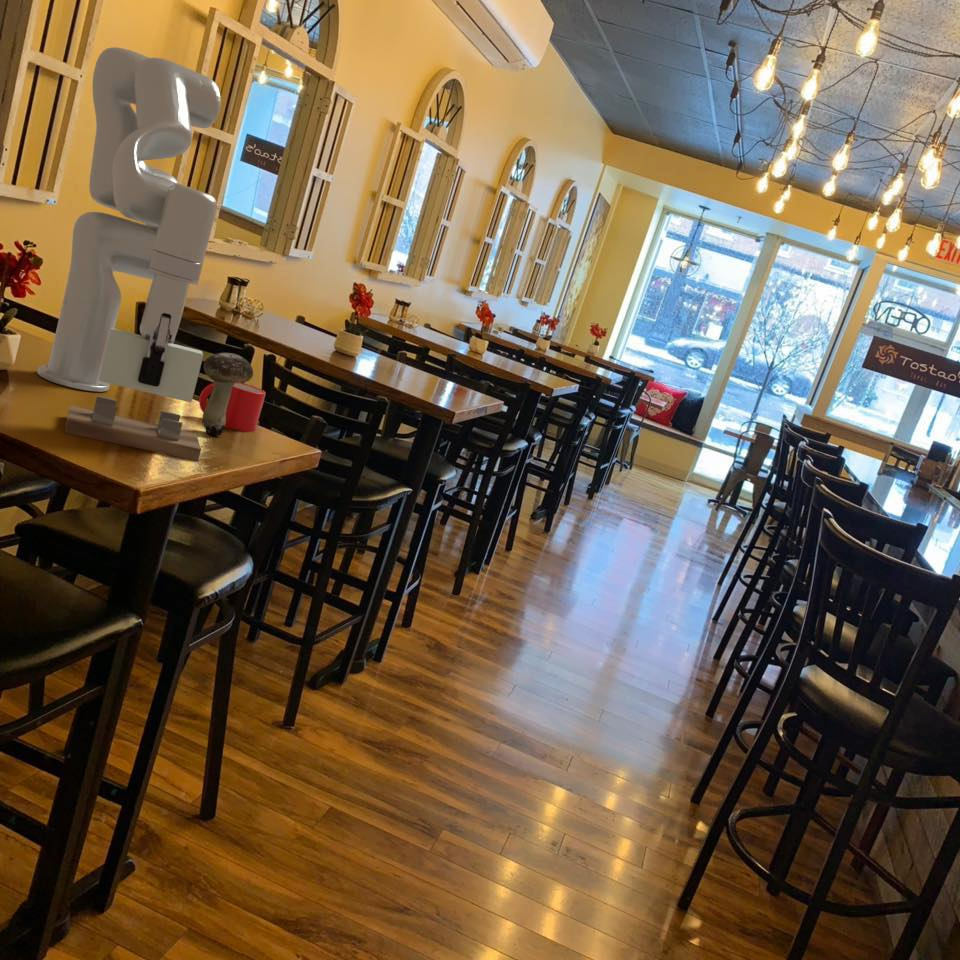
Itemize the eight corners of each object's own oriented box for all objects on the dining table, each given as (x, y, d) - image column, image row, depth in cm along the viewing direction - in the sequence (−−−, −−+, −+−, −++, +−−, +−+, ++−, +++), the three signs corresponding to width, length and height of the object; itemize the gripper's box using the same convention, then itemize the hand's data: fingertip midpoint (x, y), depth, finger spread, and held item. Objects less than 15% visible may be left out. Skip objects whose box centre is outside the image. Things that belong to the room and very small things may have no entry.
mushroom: (221, 429, 176) (242, 353, 173) (244, 444, 171) (266, 365, 168) (176, 423, 169) (196, 343, 166) (198, 438, 164) (220, 356, 161)
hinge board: (67, 417, 150) (74, 387, 149) (193, 444, 158) (200, 416, 158) (64, 432, 141) (71, 401, 140) (198, 460, 150) (205, 431, 149)
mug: (190, 411, 182) (200, 373, 181) (249, 423, 189) (259, 386, 187) (199, 422, 176) (209, 382, 174) (260, 434, 182) (270, 396, 181)
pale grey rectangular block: (99, 376, 147) (110, 327, 145) (189, 397, 153) (201, 350, 151) (98, 381, 144) (110, 330, 142) (191, 402, 149) (203, 354, 148)
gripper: (148, 257, 150) (122, 366, 154) (152, 265, 136) (123, 386, 139) (195, 271, 153) (168, 377, 157) (204, 280, 139) (175, 398, 142)
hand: (147, 380), depth 148 cm, fingers closed on pale grey rectangular block, 3 cm apart
